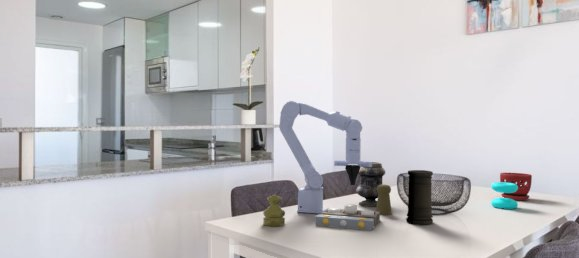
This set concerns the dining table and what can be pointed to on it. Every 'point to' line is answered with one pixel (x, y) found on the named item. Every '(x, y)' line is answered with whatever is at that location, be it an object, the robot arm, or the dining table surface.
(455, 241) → the dining table surface
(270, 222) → the olive green tiered piece
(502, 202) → the donuts
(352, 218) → the pattern card
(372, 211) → the right button
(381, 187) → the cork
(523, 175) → the plant pot
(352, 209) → the middle button
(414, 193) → the container
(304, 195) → the robot arm
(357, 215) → the button board
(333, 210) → the left button
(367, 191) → the apothecary jar
